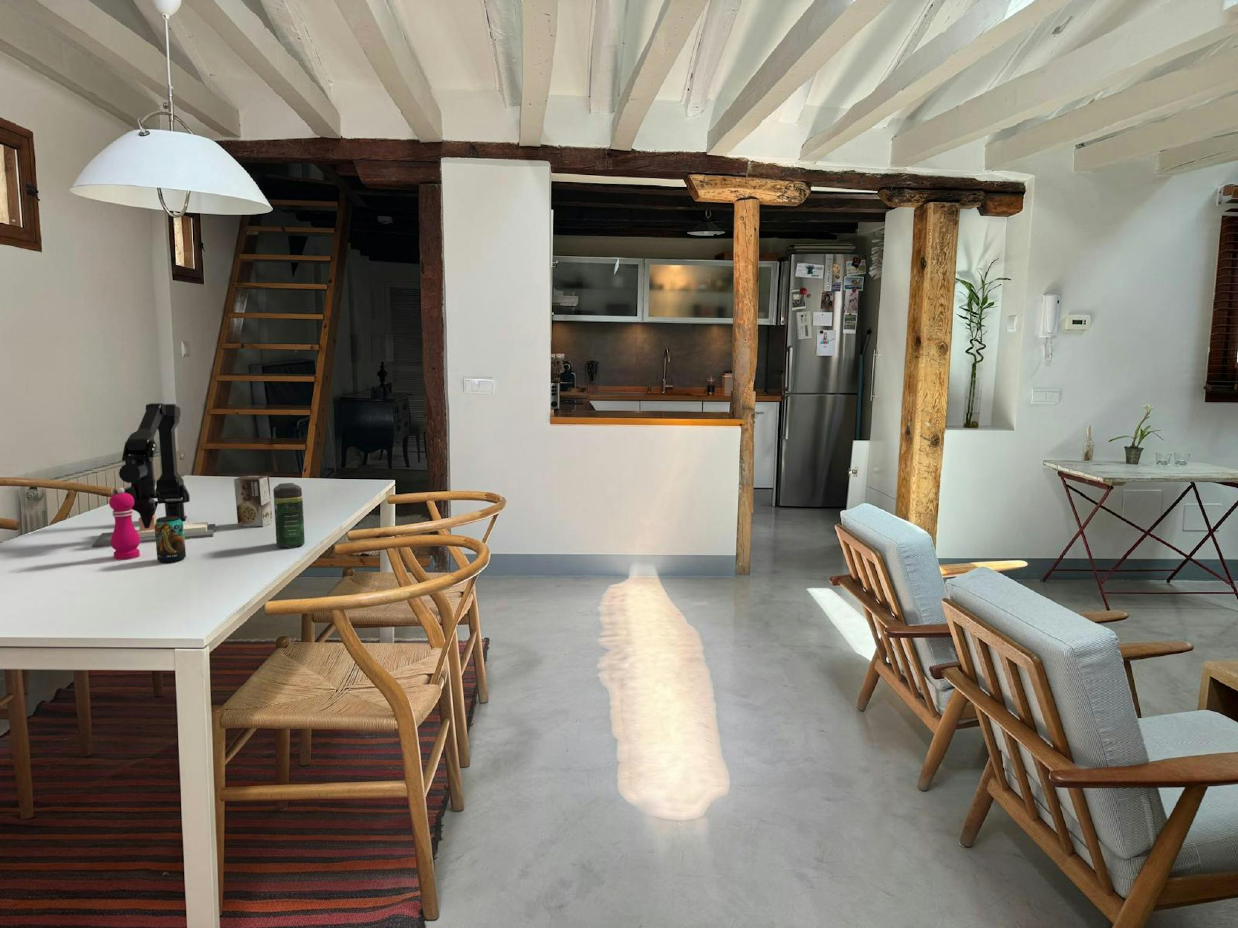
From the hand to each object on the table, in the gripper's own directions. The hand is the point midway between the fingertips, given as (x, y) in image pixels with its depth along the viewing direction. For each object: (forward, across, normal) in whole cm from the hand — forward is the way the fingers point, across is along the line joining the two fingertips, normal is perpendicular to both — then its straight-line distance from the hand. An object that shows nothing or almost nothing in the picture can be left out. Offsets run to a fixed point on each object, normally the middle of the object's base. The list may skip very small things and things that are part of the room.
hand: (147, 526), depth 251 cm
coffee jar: (+4, +29, +40) cm, 50 cm away
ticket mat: (+3, 0, +2) cm, 4 cm away
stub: (+3, 0, 0) cm, 3 cm away
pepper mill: (+3, +25, -3) cm, 25 cm away
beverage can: (+3, +34, +9) cm, 35 cm away
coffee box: (+4, -5, +30) cm, 31 cm away
